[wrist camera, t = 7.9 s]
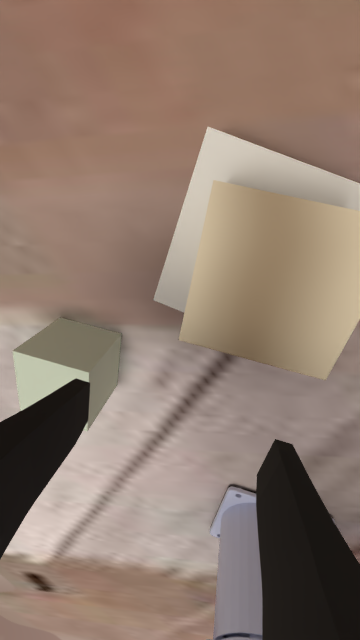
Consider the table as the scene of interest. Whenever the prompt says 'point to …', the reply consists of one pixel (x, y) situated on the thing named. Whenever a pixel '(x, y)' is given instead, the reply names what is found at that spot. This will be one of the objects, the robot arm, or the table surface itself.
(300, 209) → the birch cube
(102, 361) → the sage cube
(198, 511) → the table surface
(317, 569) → the robot arm
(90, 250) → the table surface
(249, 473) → the table surface
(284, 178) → the base block
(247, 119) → the table surface
